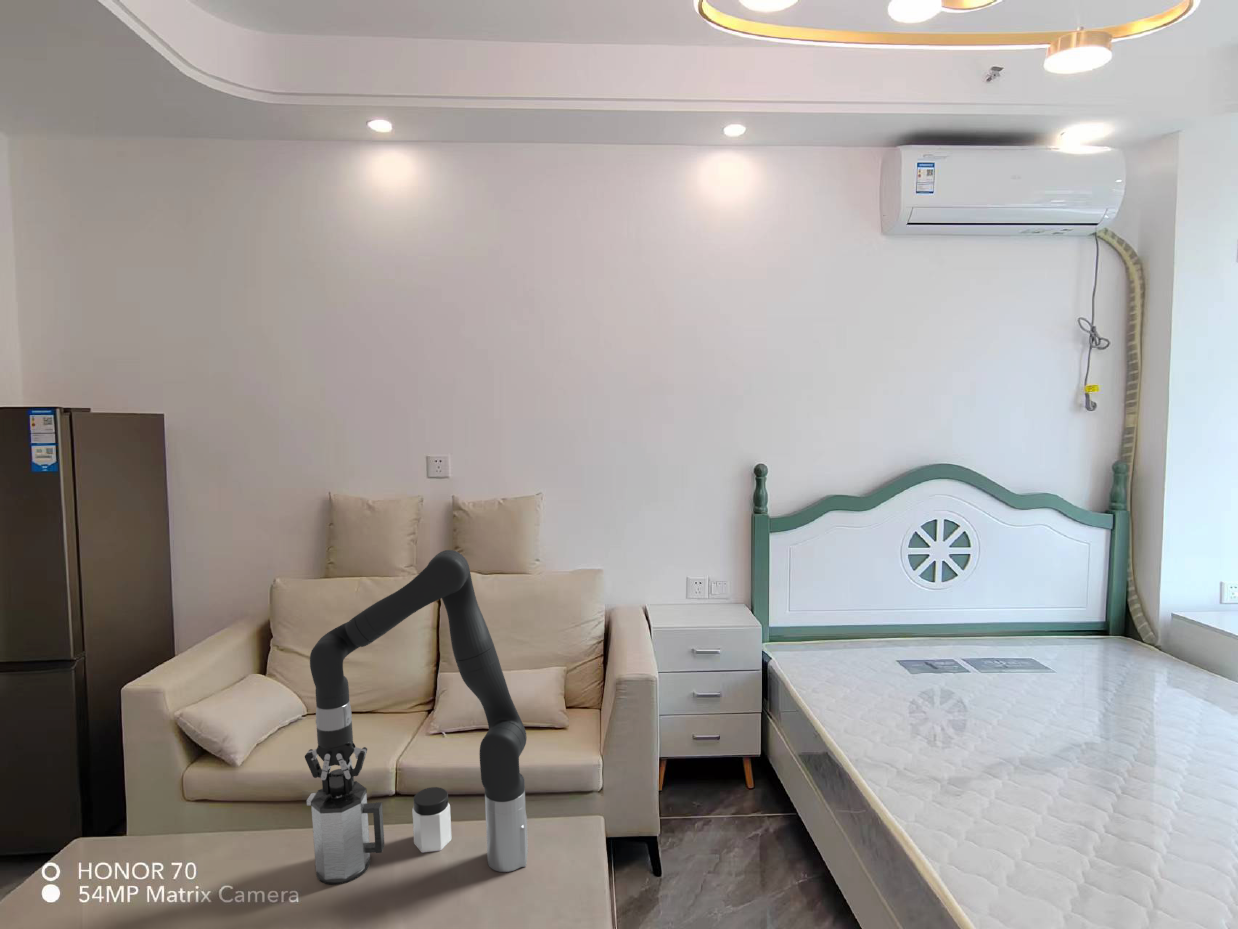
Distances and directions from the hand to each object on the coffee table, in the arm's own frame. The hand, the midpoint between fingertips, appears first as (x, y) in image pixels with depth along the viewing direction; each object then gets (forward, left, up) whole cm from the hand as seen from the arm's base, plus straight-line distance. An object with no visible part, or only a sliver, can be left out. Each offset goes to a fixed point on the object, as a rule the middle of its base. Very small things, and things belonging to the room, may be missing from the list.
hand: (338, 792), depth 168 cm
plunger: (0, 0, -16) cm, 16 cm away
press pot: (-1, 0, -19) cm, 19 cm away
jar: (-19, -8, -19) cm, 28 cm away
